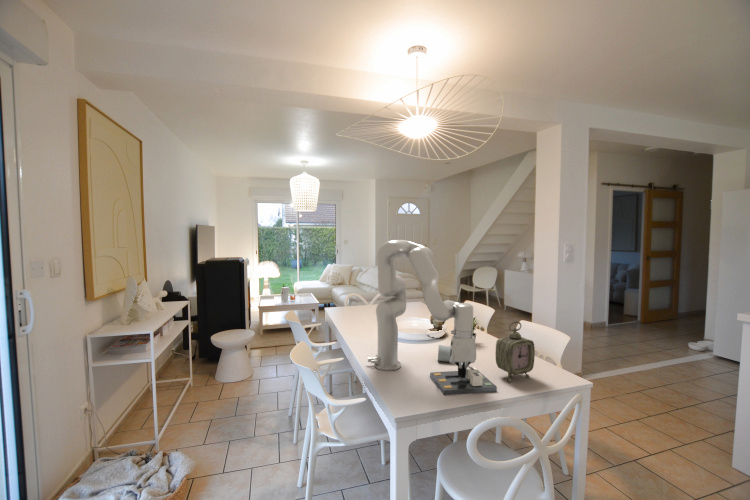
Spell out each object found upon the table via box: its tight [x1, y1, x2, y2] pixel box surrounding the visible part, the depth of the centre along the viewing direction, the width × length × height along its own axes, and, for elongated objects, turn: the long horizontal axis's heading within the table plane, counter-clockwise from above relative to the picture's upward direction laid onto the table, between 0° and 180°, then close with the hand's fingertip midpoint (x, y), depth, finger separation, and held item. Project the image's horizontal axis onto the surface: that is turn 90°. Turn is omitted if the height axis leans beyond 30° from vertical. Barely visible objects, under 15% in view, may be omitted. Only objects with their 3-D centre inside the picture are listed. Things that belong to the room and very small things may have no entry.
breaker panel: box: [429, 369, 498, 396], centre depth 139 cm, size 22×17×3 cm
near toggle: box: [470, 372, 483, 386], centre depth 133 cm, size 4×2×4 cm, turn 99°
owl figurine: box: [427, 314, 447, 340], centre depth 208 cm, size 18×12×17 cm, turn 0°
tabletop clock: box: [494, 321, 536, 383], centre depth 145 cm, size 14×9×25 cm, turn 114°
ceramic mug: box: [437, 344, 450, 363], centre depth 166 cm, size 11×8×8 cm
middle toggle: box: [466, 366, 478, 380], centre depth 139 cm, size 4×2×4 cm, turn 99°
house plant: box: [473, 316, 482, 340], centre depth 190 cm, size 14×14×16 cm
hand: (461, 376), depth 139 cm, fingers closed
